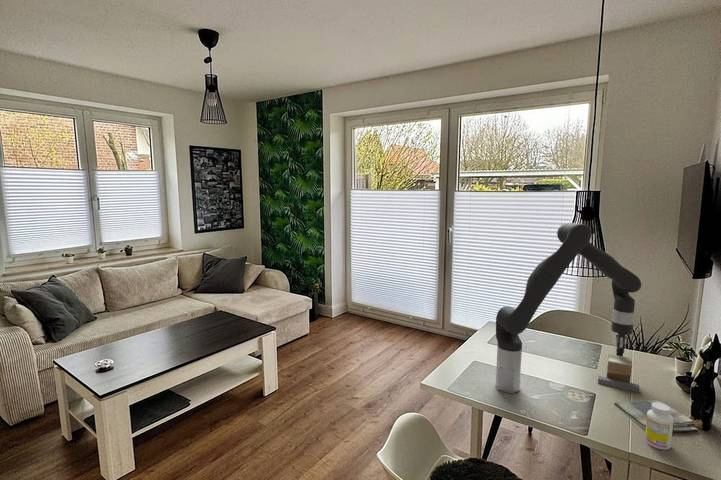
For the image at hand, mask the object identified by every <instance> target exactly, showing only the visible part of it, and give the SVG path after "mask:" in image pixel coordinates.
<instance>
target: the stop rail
mask: <svg viewBox="0 0 721 480" xmlns="http://www.w3.org/2000/svg"><path fill="white" fill-rule="evenodd" d="M597 384H601V385H604V386H609V387H614V388H618V389H621V390H625V391H629V392H630V391H631V392H635V393H639V394H640V384H638V383H637V384H636V383H634V382H630V383H629V382H624V381H620V380H615V379H611V378H607V376H601V375H598V377H597Z"/></svg>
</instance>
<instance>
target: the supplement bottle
mask: <svg viewBox="0 0 721 480" xmlns="http://www.w3.org/2000/svg"><path fill="white" fill-rule="evenodd" d="M662 403H663V402H662ZM662 403H658V402H654V403H652V406H651V408H652V409H651V410H649V411H648V412H647V419H646V431H645V430H644V431H645V432H644V433H645V434H644V440H645V442H646V443H647V444H648V445H650V446H651V447H653V448H655V449H659V450H669V449H671V448H672V441H673V433H674V432H673V421H674V420H673V417H672V416H671V415H670V407H671V406H669V405H667V404H666V403H664V404H662ZM665 404H666V405H665ZM672 432H673V433H672Z"/></svg>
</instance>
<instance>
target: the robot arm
mask: <svg viewBox="0 0 721 480" xmlns="http://www.w3.org/2000/svg"><path fill="white" fill-rule="evenodd" d="M556 235H557V239H558V240H559V241H560V242H561V243H562V244H561V245H560V246H559V248H558V249H557V250H556V251H555V252H553V253H552V254H550V255H549V256H547V257H546V258H545V259H543V260H541V262H539V263H538V264H537V265H536V267H535V268H534V270H533V271H532V272H531V273H530V275H529V277H528V278H527V280H526V281H527V282H526V285H525V291H524V295H523V298H522V299H521V301H520V303H519V304H518V306H517V307H515V308H514V307H512V306H507V305H506V306H502V307H501V308H500V309H499V310H498V311H497V313H496V317H495V318H496V319H495V339H496V342H497V348H496V351H497V352H496V368H495V369H496V372H495V387H496V389H497V390H498V391H501V392H504V393H508V394H512V395H513V394H514V393H517V392H519V391H520V389H521V372H522V371H521V369H522V355H523V354H522V353H523V352H522V351H523V343H522V340H521V338H520V336H519V334H521V333H523V332H524V331H525V330H526V328H528V326H529V324H530V323H531V320H532V319H533V317H534V316H535V313H536V312H537V311H538V309H539V307H540V305H542V302H544V300H545V299H546V297H547V296H548V294H549V293H550V291H551V290H552V289H553V288H554V287H555V285H556V284H557V282H558V281H559V280H560V278H561V276H562V275H563V273H564V272H565V271H566V270H567V268H568V267H569V266H570V264H571V263H572V262H573V261H574V260H575V258H576V257H577V256H578V255H581V256H582V257H583V258H584V259H585V260H587V261H588V262H589V263H591V264H592V266H593V267H595V268H596V269H597V270H598V271H599V272H601V273H602V274H603V275H604V276H605V277H607V278H608V279H611V287H612V288H611V289H612V294H613V299H614V300H613V309H612V314H611V315H612V316H611V327H610V329H611V332H612V333H615V340H614V341H615V344H614V345H615V348H616V349H615V351H616V352H615V353H616V354H615V355H618V356H623V357H624V354H625V349H626V345H627V342H628V336H629V335H632V334H634V333H633V332H634V325H635V324H634V323H635V322H634V321H635V305H636V301H635V299H634V298H633V296H631V295H630V293H633V294H634V293H637V292H638V291H640V290H641V288H642V282H641V279H640V278H639V276H637V275H636V274H635V273H634V272H632V271H630V270H628V268H626V267H624V266H622V265H621V264H620V263H619V262H618V261H617V260H616V259H615V257H613V256H612V255H610V254H609V253H607V252H606V251H604V250H602V249H601V248H599V247H598V246H596V245H594V244H592V243H591V242H590V240H591V239H592V229H591V227H590V226H588V225H587V224H585V223H578V222H577V223H576V222H567V223H564V224H561V225H560V226H559V227H558V228H557V231H556ZM627 335H628V336H627Z"/></svg>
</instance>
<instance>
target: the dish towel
mask: <svg viewBox="0 0 721 480" xmlns="http://www.w3.org/2000/svg"><path fill="white" fill-rule="evenodd" d="M654 402H658V403H662V404H665V405H667V404H666V403H664V402H662V401H661V400H656V399H655V400H653V399H652V400H651V399H650V400H648V399H647V400H628V401H627V400H626V401H615V402H614V403H613V405H614V406H615V407H616V408H617V409H619V410H620V411H621V412H623V414H624V415H626V416H627V417H628V418H629V419H630V420H632V421H633V422H634V423H636V425H638V426H639V427H640V428H641V429H642V430H644V431H646V419H647V412H648V411H649V410H651V409H652V408H651V406H652V403H654ZM669 407H670V415H671V416H672V417H673V420H674V421H673V432H672V434H690V433H691V434H695V433H696V434H699V433H700V429H698V428H697V427H694V426H693V425H694V424H695V423H696V422H695V420H693V419H691V418H689V417H687V416H686V415H685V414H683V413H681V412H679V411H677V410H676V409H674V408H673V407H671V406H669ZM692 424H693V425H692Z"/></svg>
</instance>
